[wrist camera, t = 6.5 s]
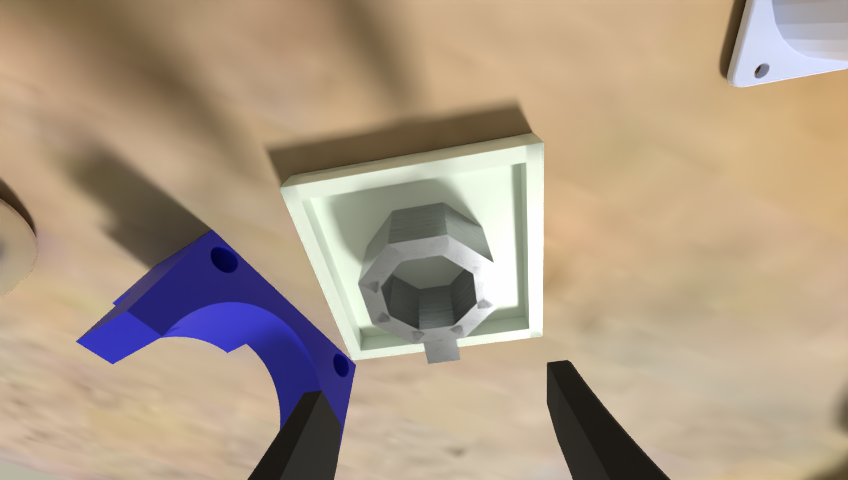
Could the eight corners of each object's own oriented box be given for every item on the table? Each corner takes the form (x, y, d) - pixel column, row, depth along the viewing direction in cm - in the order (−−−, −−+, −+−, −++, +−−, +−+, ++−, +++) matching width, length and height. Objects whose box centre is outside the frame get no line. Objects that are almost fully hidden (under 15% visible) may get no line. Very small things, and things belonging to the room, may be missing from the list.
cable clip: (155, 265, 18) (52, 355, 13) (213, 228, 17) (126, 310, 12) (304, 385, 24) (272, 482, 19) (356, 363, 23) (337, 460, 18)
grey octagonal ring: (479, 196, 16) (491, 227, 13) (491, 312, 19) (502, 354, 17) (357, 216, 16) (346, 250, 14) (392, 325, 20) (388, 368, 17)
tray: (533, 132, 15) (543, 142, 13) (534, 317, 20) (542, 336, 19) (290, 175, 16) (279, 188, 14) (356, 340, 21) (352, 360, 20)
